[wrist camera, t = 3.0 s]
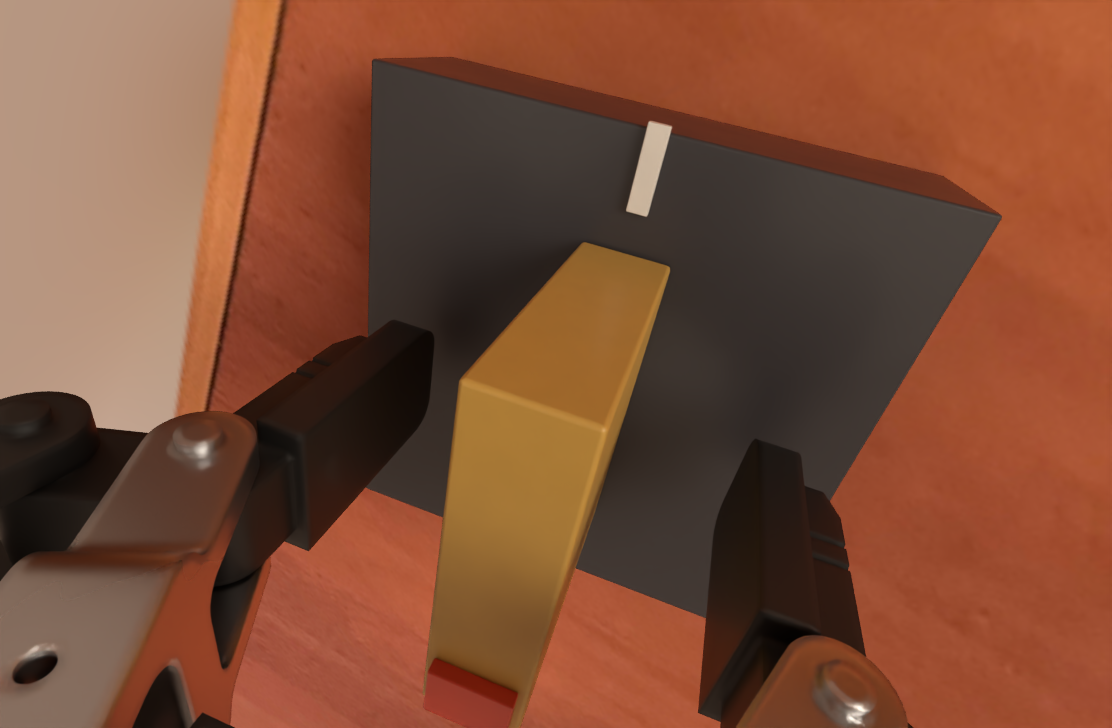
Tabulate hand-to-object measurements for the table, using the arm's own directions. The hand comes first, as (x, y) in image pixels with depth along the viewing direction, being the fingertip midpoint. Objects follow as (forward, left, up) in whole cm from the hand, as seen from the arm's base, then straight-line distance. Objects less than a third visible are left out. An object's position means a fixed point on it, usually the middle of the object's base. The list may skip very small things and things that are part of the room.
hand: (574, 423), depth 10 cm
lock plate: (0, 0, -4) cm, 4 cm away
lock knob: (0, 0, -1) cm, 1 cm away
